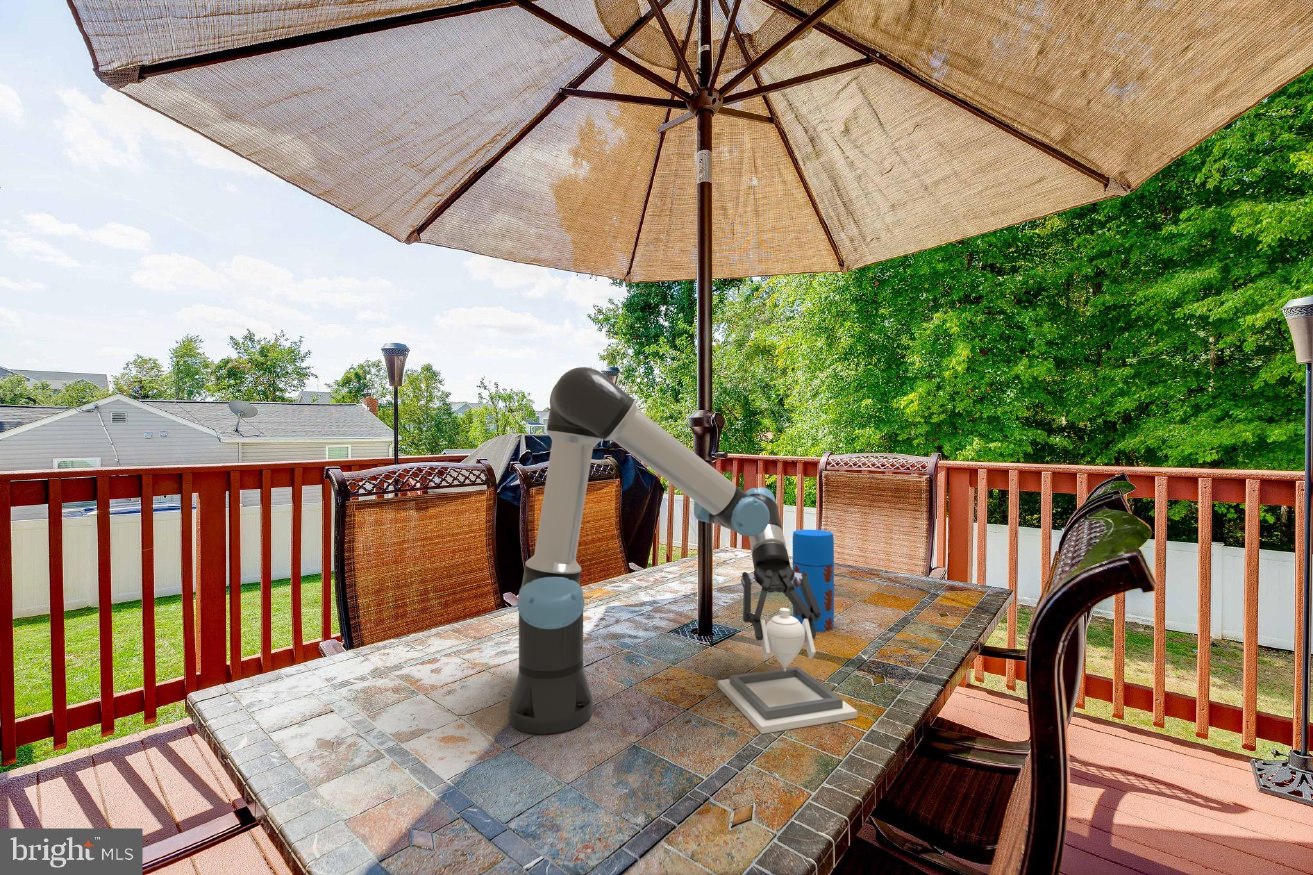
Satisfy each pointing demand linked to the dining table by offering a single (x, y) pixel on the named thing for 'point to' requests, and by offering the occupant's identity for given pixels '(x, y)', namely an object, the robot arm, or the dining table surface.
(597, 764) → the dining table surface
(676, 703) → the dining table surface
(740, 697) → the dock plate
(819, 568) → the thermos
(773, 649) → the spinning top
